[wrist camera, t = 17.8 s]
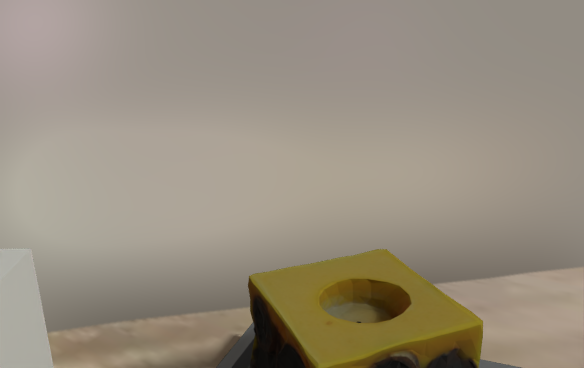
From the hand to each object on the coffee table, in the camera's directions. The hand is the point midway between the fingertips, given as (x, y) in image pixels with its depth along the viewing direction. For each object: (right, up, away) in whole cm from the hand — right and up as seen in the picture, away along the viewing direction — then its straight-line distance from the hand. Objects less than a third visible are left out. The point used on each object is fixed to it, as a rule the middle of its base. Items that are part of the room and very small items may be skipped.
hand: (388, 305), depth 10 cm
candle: (+2, -14, +24) cm, 28 cm away
